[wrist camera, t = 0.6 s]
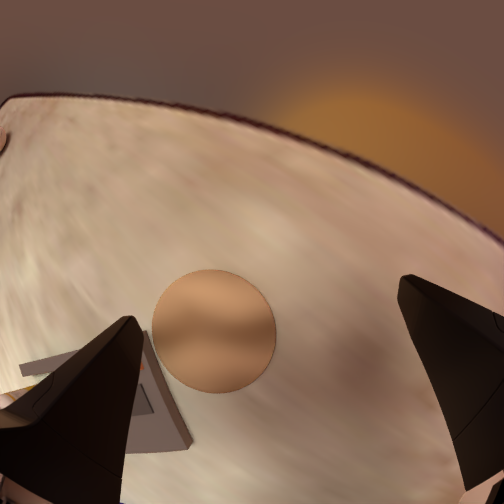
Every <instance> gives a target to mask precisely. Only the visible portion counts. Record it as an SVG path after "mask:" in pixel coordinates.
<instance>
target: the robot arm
mask: <svg viewBox="0 0 504 504" xmlns="http://www.w3.org/2000/svg"><path fill="white" fill-rule="evenodd" d="M397 300H398V304H399V307H400V309H401V312H402V314H403V317H404V320H405V323H406V325H407V328H408V331H409V334H410V336H411V339H412V341H413V344H414V346H415V348H416V350H417V352H418V354H419V356H420V359H421V361H422V363H423V365H424V368H425V370H426V372H427V375H428V377H429V379H430V382H431V384H432V387H433V389H434V391H435V394H436V397H437V399H438V402H439V404H440V407H441V410H442V412H443V415H444V418H445V421H446V424H447V426H448V429H449V432H450V435H451V438H452V441H453V445H454V449H455V452H456V455H457V459H458V462H459V466H460V470H461V474H462V478H463V482H464V486H465V490H466V492H467V491H469V490H471V489H473V488H474V487H476V486H478V485H480V484H481V483H483V482H485V481H486V480H488V479H490V478H491V477H493V476H494V475H496V474H497V473H499V472H500V471H502V470H503V473H504V317H503V316H501V315H499V314H497V313H495V312H493V313H492V311H491V310H489V309H487V308H485V307H483V306H481V305H479V304H477V303H475V302H472V301H470V300H468V299H466V298H464V297H462V296H460V295H458V294H455V293H453V292H451V291H449V290H447V289H445V288H442V287H440V286H438V285H436V284H433V283H431V282H429V281H427V280H424V279H422V278H420V277H418V276H415V275H413V274H409V275H404V276H402V277H401V278H400V282H399V289H398V295H397ZM143 344H144V334H143V332H142V330H141V328H140V326H139V324H138V322H137V320H136V318H135V317H134V316H123V317H121V318H120V319H119V320H117V321H116V322H115V323H113V324H112V325H111V326H110V327H108V328H107V329H106V330H104V331H103V332H102V333H101V334H99V335H98V336H97V337H96V338H94V339H93V340H92V341H90V342H89V343H88V344H87V345H85V346H84V347H83V348H82V349H80V350H79V351H78V352H77V353H75V354H74V355H73V356H72V357H70V358H69V359H68V360H67V361H66V362H64V363H63V364H62V365H61V366H59V367H58V368H57V369H56V370H55V371H53V372H52V373H51V374H50V375H48V376H47V377H46V378H45V379H43V380H42V381H41V382H40V383H38V384H37V385H36V386H34V387H33V388H32V389H30V390H29V391H28V392H26V393H25V394H23V395H22V396H21V397H19V398H18V399H17V400H15V401H14V402H12V403H11V404H10V405H8V406H7V407H5V408H3V409H0V504H120V494H121V484H122V479H121V478H122V474H123V466H124V459H125V452H126V445H127V439H128V433H129V427H130V421H131V416H132V410H133V405H134V400H135V395H136V390H137V386H138V381H139V376H140V369H141V360H142V352H143ZM485 504H504V477H503V478H502V479H501V480H499V481H498V482H497V483H495V484H494V485H493V487H492V489H491V491H490V494H489V496H488V498H487V500H486V503H485Z"/></svg>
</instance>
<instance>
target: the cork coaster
mask: <svg viewBox="0 0 504 504" xmlns="http://www.w3.org/2000/svg"><path fill="white" fill-rule="evenodd" d="M152 336H153V342H154V346H155V349H156V352H157V354H158V356H159V358H160V360H161V362H162V363H163V365H164V366H165V367H166V369H167V370H168V371H169V372H170V373H171V374H172V375H173V376H174V377H175V378H176V379H178V380H179V381H180V382H182V383H183V384H185V385H186V386H189V387H191V388H193V389H196V390H199V391H202V392H207V393H227V392H232V391H236V390H238V389H241V388H243V387H245V386H247V385H249V384H250V383H252V382H253V381H254V380H255V379H257V378H258V377H259V376H260V375H261V373H262V372H263V371H264V370H265V368H266V367H267V365H268V363H269V362H270V359H271V357H272V355H273V351H274V347H275V340H276V329H275V322H274V318H273V315H272V312H271V310H270V307H269V305H268V304H267V302H266V300H265V299H264V297H263V296H262V295H261V293H260V292H259V291H258V290H257V289H256V288H255V287H254V286H253V285H251V284H250V283H249V282H247V281H246V280H244V279H243V278H241V277H239V276H237V275H234V274H232V273H229V272H225V271H220V270H201V271H196V272H192V273H189V274H187V275H185V276H183V277H181V278H179V279H178V280H176V281H175V282H174V283H172V284H171V285H170V286H169V287H168V288H167V289H166V290H165V291H164V293H163V294H162V296H161V297H160V299H159V301H158V303H157V305H156V308H155V311H154V315H153V320H152Z"/></svg>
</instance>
